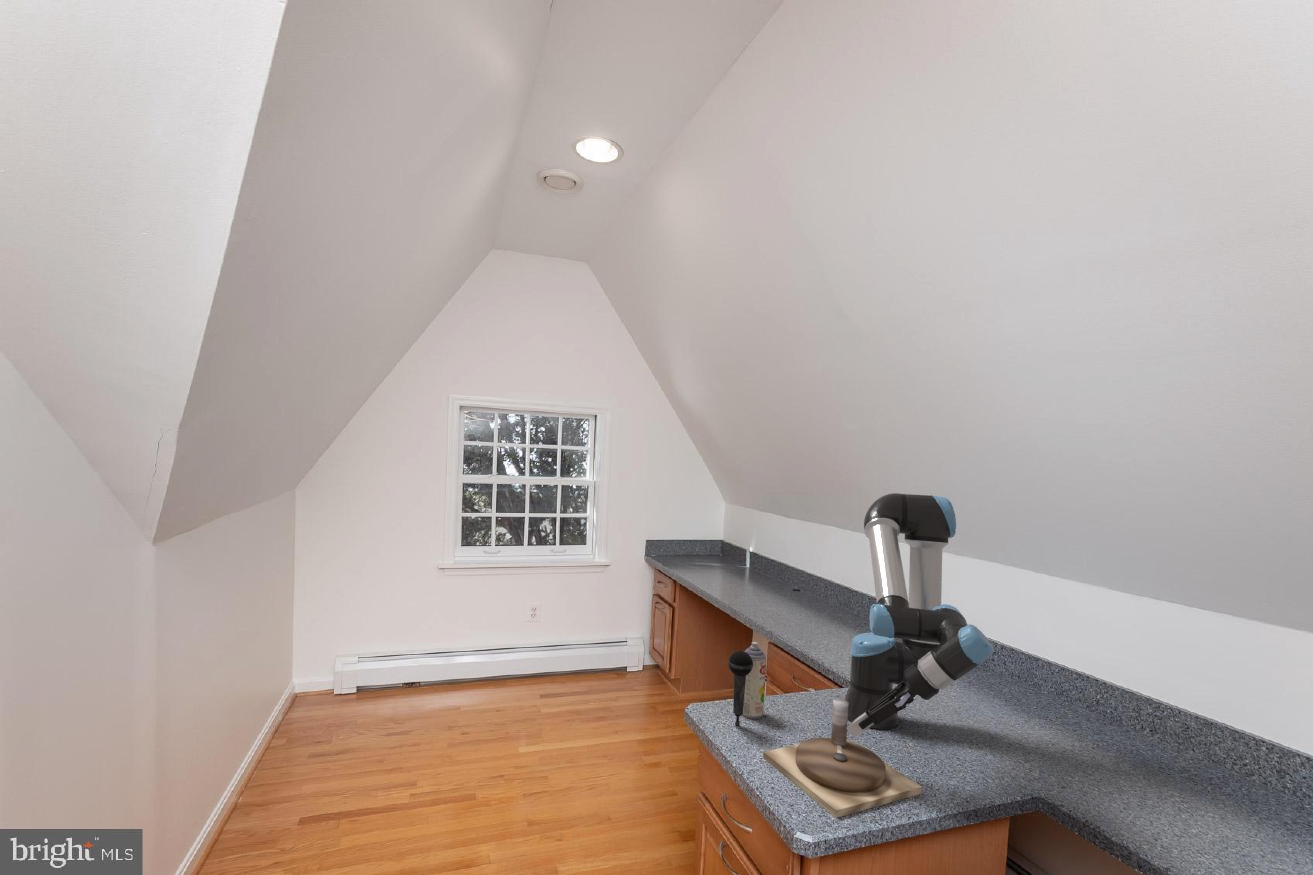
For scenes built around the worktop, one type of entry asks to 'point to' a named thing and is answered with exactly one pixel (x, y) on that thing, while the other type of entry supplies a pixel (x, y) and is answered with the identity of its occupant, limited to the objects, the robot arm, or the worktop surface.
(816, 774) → the dial
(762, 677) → the aerosol can
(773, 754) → the stand plate
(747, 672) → the microphone
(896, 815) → the worktop surface
